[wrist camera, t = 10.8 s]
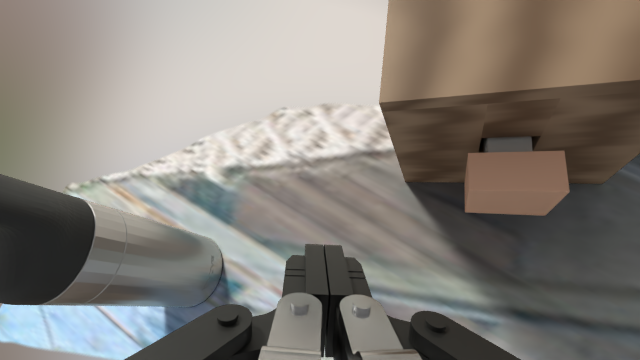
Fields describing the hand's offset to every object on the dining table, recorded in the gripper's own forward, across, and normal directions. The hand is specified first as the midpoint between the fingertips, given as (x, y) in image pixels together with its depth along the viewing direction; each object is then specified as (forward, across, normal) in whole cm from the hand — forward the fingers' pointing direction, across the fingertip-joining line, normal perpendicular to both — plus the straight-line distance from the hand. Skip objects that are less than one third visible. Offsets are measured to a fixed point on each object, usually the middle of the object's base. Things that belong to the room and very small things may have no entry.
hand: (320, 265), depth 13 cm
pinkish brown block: (+15, -17, -2) cm, 23 cm away
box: (+22, -20, -4) cm, 30 cm away
